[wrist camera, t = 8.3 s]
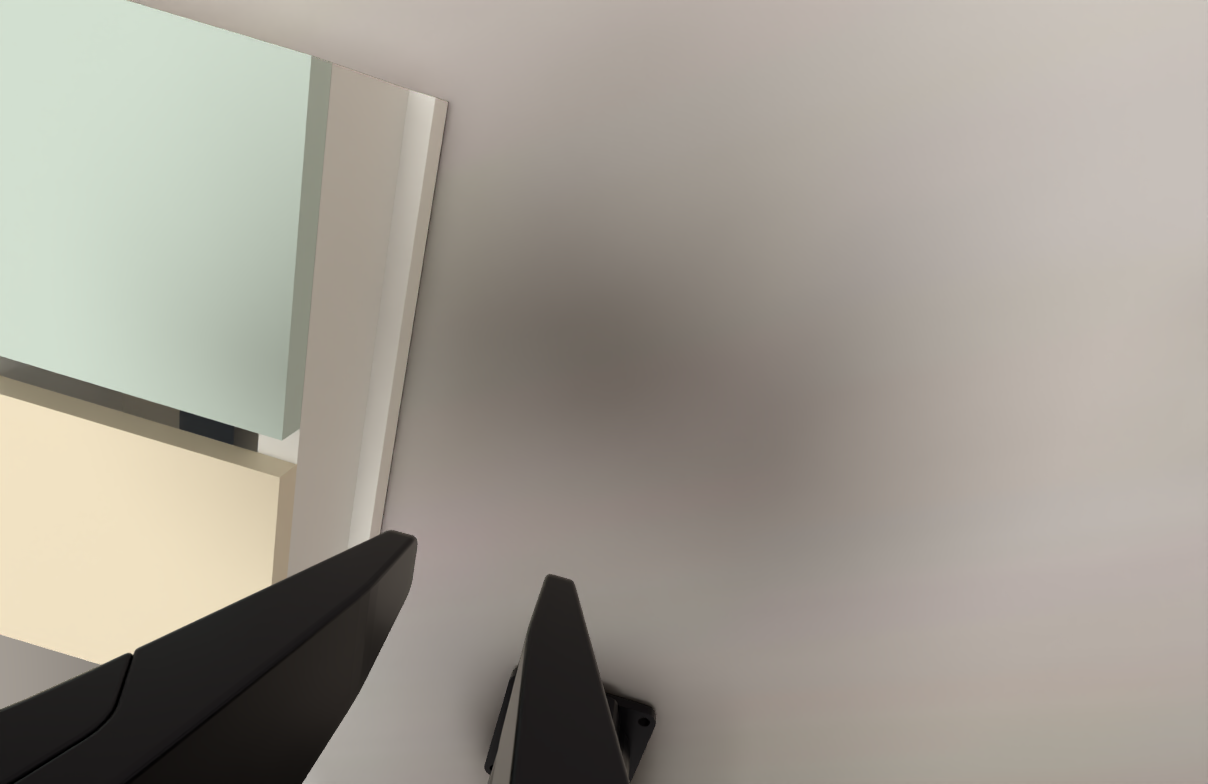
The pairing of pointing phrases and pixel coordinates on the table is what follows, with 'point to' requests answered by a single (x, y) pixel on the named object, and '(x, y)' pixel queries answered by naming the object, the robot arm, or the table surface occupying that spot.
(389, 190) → the white tray
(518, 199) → the table surface
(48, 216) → the lid outer
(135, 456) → the lid inner
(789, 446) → the table surface
